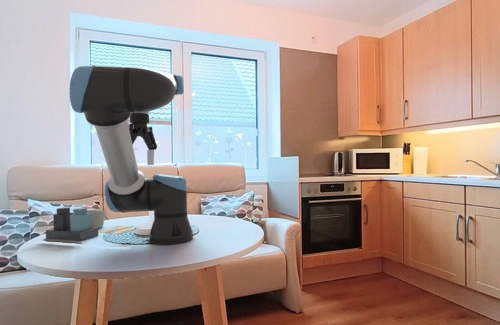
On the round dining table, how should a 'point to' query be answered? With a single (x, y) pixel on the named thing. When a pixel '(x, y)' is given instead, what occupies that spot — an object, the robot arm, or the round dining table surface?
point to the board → (117, 230)
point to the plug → (80, 220)
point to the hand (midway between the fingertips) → (140, 165)
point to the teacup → (96, 218)
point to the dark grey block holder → (67, 228)
